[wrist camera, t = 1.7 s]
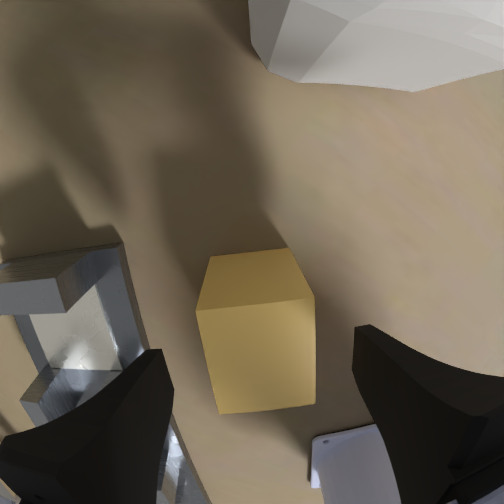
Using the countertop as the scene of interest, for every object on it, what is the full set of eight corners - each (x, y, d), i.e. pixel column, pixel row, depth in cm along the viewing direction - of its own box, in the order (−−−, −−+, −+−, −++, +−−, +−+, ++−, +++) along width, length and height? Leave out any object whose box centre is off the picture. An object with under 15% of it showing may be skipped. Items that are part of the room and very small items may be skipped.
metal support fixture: (123, 242, 16) (83, 274, 11) (212, 505, 23) (210, 543, 19) (6, 260, 16) (-41, 287, 11) (129, 499, 23) (121, 534, 19)
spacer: (289, 247, 16) (314, 297, 10) (294, 332, 18) (315, 403, 12) (210, 256, 16) (195, 310, 10) (224, 339, 18) (219, 414, 12)
